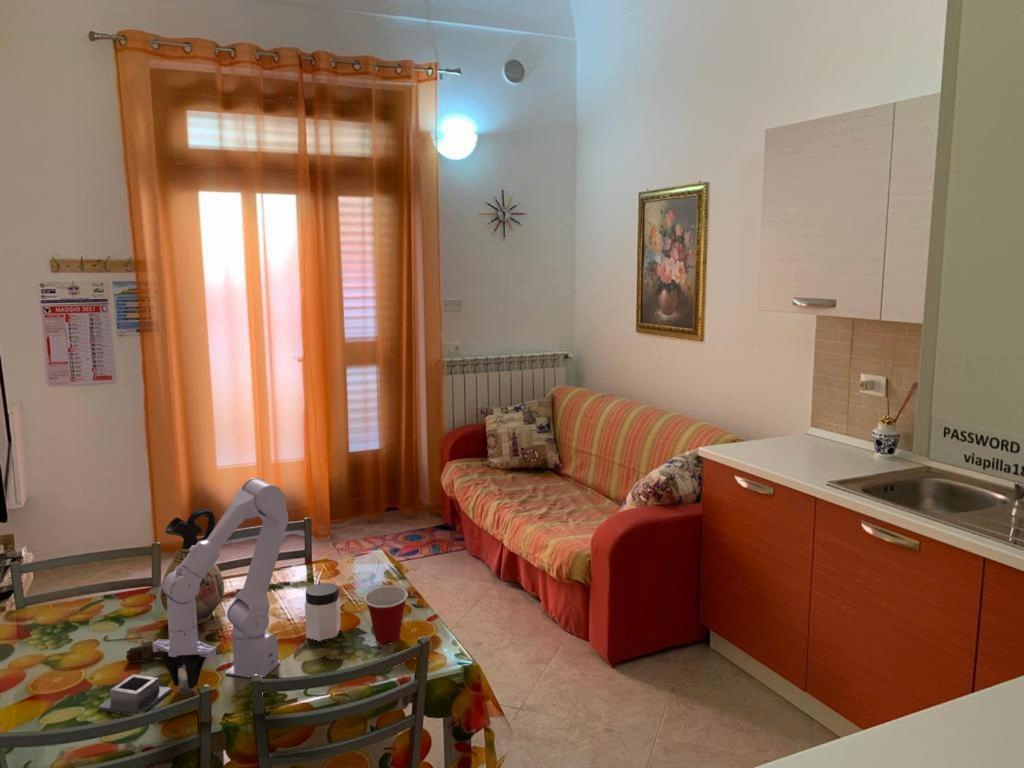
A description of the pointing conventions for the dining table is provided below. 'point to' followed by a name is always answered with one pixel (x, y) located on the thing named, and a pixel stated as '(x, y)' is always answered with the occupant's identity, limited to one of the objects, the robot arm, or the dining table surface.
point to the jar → (322, 611)
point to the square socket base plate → (135, 695)
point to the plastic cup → (386, 612)
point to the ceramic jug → (188, 531)
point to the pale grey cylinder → (183, 680)
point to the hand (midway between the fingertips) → (186, 684)
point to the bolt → (144, 653)
